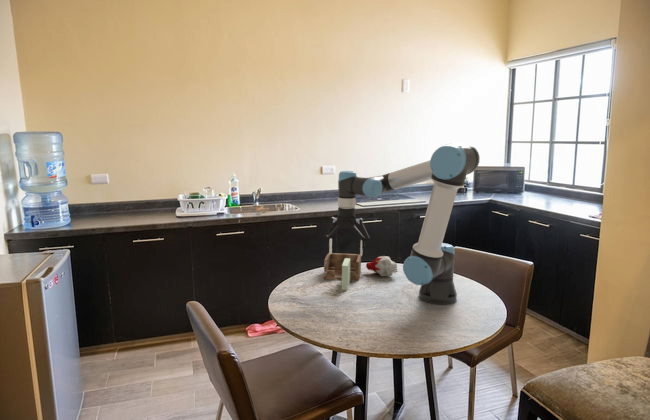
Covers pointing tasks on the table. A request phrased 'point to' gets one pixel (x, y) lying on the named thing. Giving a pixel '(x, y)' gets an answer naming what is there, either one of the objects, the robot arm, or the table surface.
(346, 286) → the door
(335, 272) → the cabinet
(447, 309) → the table surface
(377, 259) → the white and red lump
